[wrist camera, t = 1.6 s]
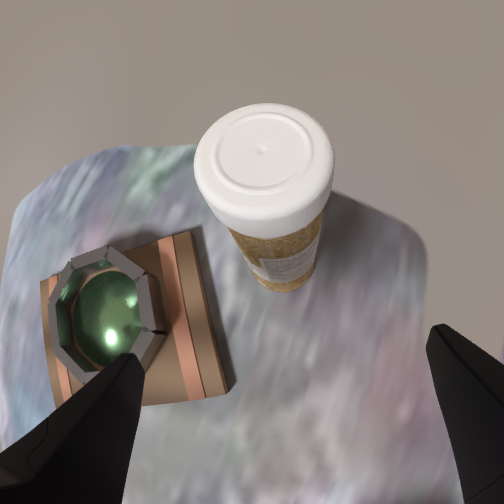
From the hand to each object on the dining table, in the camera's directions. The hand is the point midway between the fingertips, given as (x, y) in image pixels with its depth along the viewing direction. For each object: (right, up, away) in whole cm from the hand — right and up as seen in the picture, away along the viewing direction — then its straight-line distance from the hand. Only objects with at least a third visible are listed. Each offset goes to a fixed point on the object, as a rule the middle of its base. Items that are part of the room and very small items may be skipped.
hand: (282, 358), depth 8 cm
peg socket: (-12, -3, +14) cm, 19 cm away
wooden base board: (-12, -3, +14) cm, 18 cm away
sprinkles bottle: (+1, +2, +14) cm, 14 cm away
